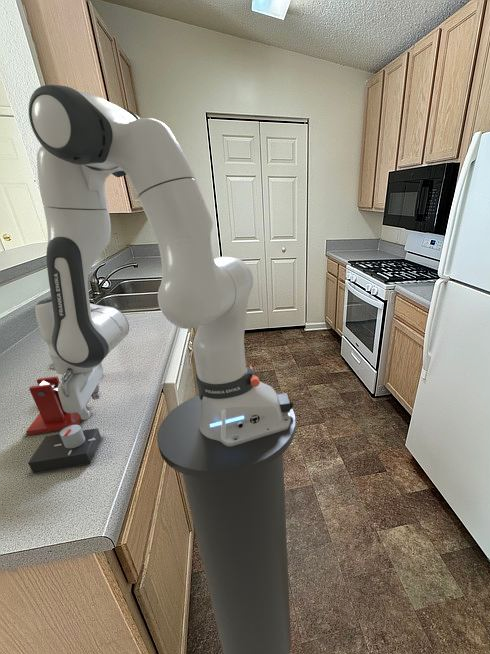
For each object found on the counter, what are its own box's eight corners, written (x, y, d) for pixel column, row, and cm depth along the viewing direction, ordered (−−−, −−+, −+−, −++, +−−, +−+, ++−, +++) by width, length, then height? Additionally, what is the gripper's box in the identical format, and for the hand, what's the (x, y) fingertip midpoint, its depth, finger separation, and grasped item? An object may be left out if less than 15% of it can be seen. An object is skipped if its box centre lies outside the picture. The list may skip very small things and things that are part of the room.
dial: (69, 437, 76) (64, 424, 74) (88, 435, 77) (83, 422, 75) (61, 449, 73) (55, 435, 71) (80, 447, 73) (75, 433, 71)
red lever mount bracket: (88, 408, 92) (74, 370, 87) (77, 427, 84) (62, 388, 79) (43, 414, 90) (26, 376, 84) (27, 435, 82) (8, 394, 77)
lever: (91, 397, 89) (93, 390, 88) (85, 408, 85) (88, 400, 84) (42, 385, 84) (45, 377, 84) (34, 395, 80) (36, 387, 79)
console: (104, 437, 81) (100, 427, 79) (93, 463, 73) (89, 452, 72) (50, 446, 78) (45, 435, 77) (33, 473, 70) (27, 462, 69)
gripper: (75, 378, 73) (94, 429, 79) (100, 343, 91) (113, 386, 97) (43, 383, 72) (64, 434, 78) (74, 346, 89) (90, 390, 95)
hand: (92, 407), depth 87 cm, fingers open, 8 cm apart
